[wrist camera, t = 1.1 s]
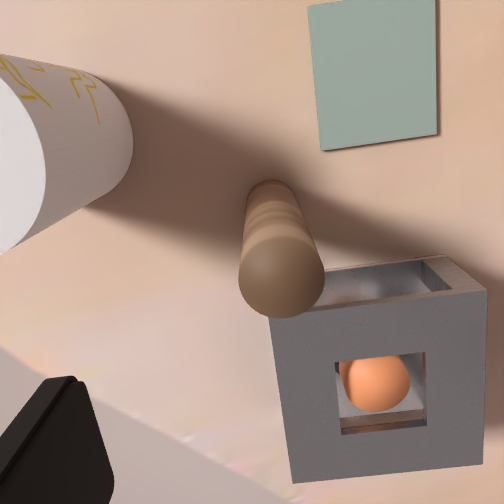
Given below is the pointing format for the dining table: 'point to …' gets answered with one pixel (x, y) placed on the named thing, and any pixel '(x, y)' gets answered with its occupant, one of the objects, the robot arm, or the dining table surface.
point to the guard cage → (380, 345)
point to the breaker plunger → (375, 382)
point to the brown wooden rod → (278, 254)
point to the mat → (373, 70)
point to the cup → (55, 145)
